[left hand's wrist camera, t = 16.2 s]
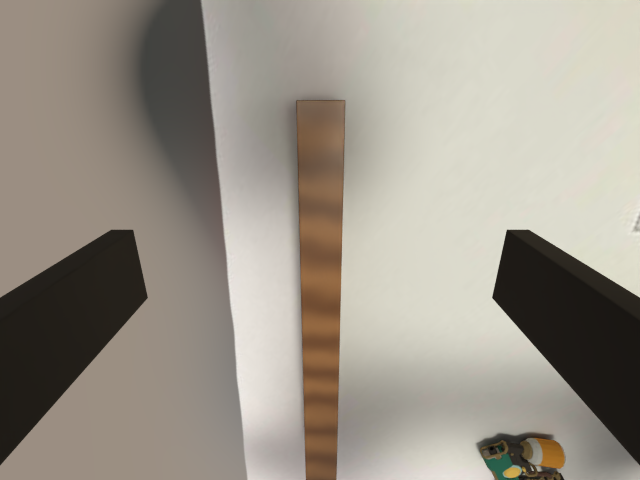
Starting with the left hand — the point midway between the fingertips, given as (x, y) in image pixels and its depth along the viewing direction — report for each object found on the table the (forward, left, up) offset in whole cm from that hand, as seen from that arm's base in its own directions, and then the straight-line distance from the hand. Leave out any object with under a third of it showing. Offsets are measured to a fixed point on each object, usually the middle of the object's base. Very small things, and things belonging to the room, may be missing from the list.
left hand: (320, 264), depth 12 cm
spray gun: (+56, +37, -33) cm, 75 cm away
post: (+22, 0, -33) cm, 39 cm away
